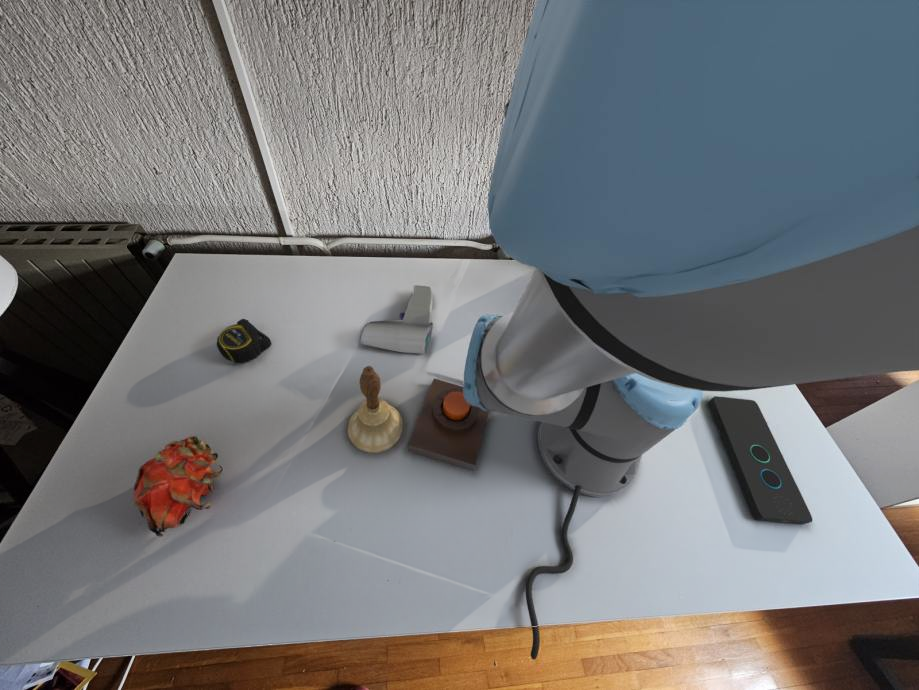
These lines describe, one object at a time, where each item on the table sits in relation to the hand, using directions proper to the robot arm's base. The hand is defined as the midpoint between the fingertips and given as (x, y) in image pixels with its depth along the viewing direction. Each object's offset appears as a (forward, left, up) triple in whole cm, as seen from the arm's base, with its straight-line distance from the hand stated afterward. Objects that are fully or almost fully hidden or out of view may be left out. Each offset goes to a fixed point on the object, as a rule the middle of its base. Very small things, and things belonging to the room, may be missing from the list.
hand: (558, 172), depth 60 cm
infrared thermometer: (-17, +20, -26) cm, 37 cm away
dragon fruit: (-54, +35, -26) cm, 70 cm away
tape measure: (-31, +42, -26) cm, 59 cm away
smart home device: (-24, -43, -26) cm, 55 cm away
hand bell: (-38, +16, -26) cm, 49 cm away
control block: (-34, +5, -26) cm, 43 cm away
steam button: (-33, +5, -22) cm, 40 cm away
